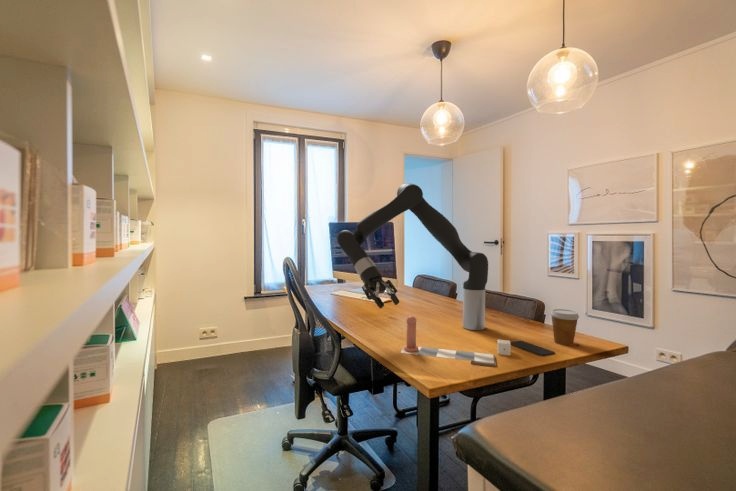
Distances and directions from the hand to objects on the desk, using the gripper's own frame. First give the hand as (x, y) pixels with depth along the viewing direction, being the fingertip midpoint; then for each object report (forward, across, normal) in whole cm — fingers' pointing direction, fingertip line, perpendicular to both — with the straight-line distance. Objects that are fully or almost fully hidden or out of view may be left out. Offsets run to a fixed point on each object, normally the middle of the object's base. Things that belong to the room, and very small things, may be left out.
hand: (390, 305), depth 126 cm
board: (+25, +5, -4) cm, 26 cm away
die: (+34, +23, -12) cm, 43 cm away
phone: (+38, +34, -15) cm, 53 cm away
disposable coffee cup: (+42, +50, -20) cm, 69 cm away
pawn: (+17, 0, +3) cm, 17 cm away
